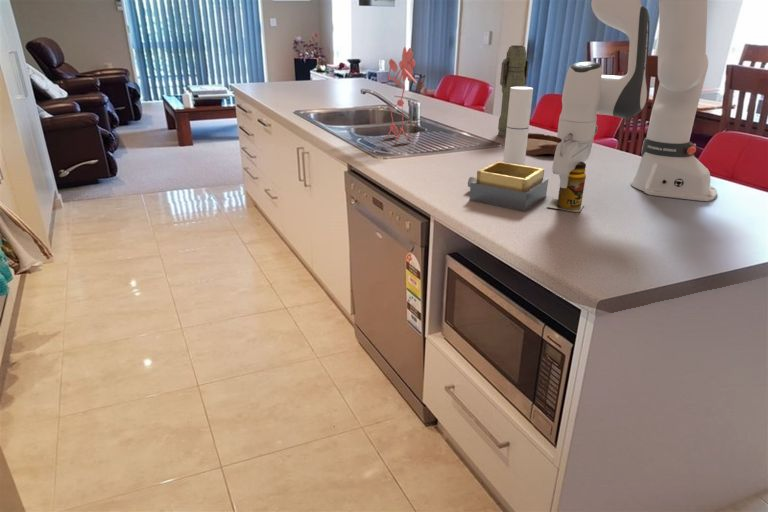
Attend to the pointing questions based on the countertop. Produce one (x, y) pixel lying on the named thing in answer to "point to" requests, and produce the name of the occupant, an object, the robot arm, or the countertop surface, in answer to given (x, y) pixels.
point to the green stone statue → (512, 80)
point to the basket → (541, 144)
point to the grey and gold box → (508, 186)
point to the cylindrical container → (518, 125)
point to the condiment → (572, 191)
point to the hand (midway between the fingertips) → (568, 183)
